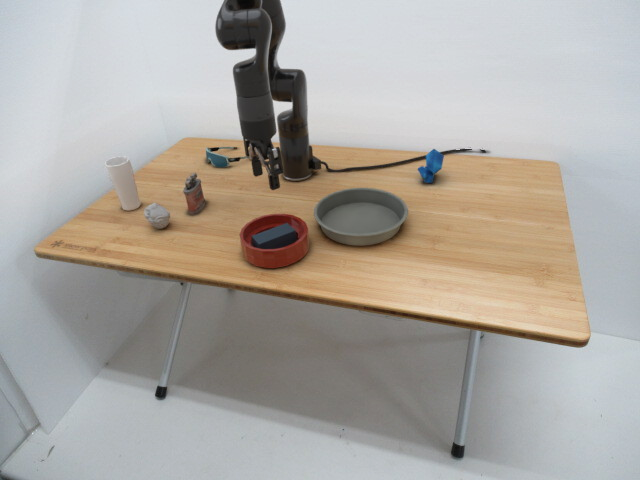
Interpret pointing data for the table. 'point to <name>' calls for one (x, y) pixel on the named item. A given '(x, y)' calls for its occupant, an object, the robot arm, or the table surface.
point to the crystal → (431, 166)
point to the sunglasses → (220, 157)
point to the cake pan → (360, 215)
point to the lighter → (194, 194)
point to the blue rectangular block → (275, 237)
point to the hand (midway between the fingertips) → (266, 181)
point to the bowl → (279, 255)
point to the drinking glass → (123, 182)
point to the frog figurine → (157, 215)
